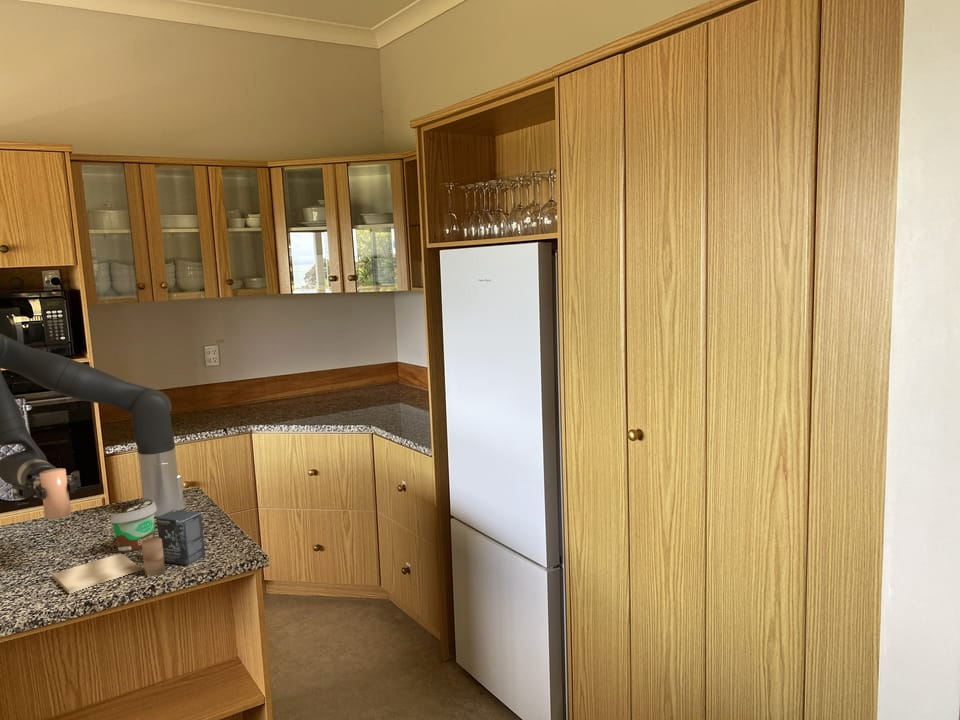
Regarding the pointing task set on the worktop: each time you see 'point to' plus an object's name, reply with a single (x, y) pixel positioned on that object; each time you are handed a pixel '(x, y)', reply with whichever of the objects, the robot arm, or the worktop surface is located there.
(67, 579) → the birch board
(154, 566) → the walnut cylinder
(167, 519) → the box
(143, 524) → the food container
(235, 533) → the worktop surface
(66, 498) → the salmon orange cylinder
